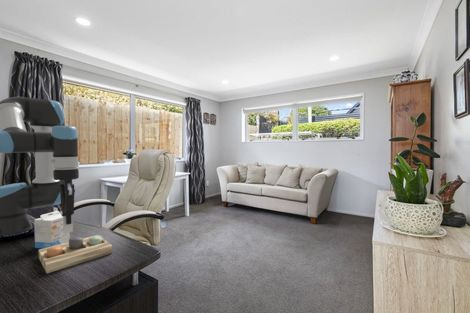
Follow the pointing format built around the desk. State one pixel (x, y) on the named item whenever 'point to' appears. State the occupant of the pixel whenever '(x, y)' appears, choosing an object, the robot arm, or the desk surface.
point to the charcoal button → (75, 242)
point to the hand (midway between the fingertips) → (68, 232)
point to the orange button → (54, 251)
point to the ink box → (50, 230)
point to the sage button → (95, 240)
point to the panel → (74, 255)
